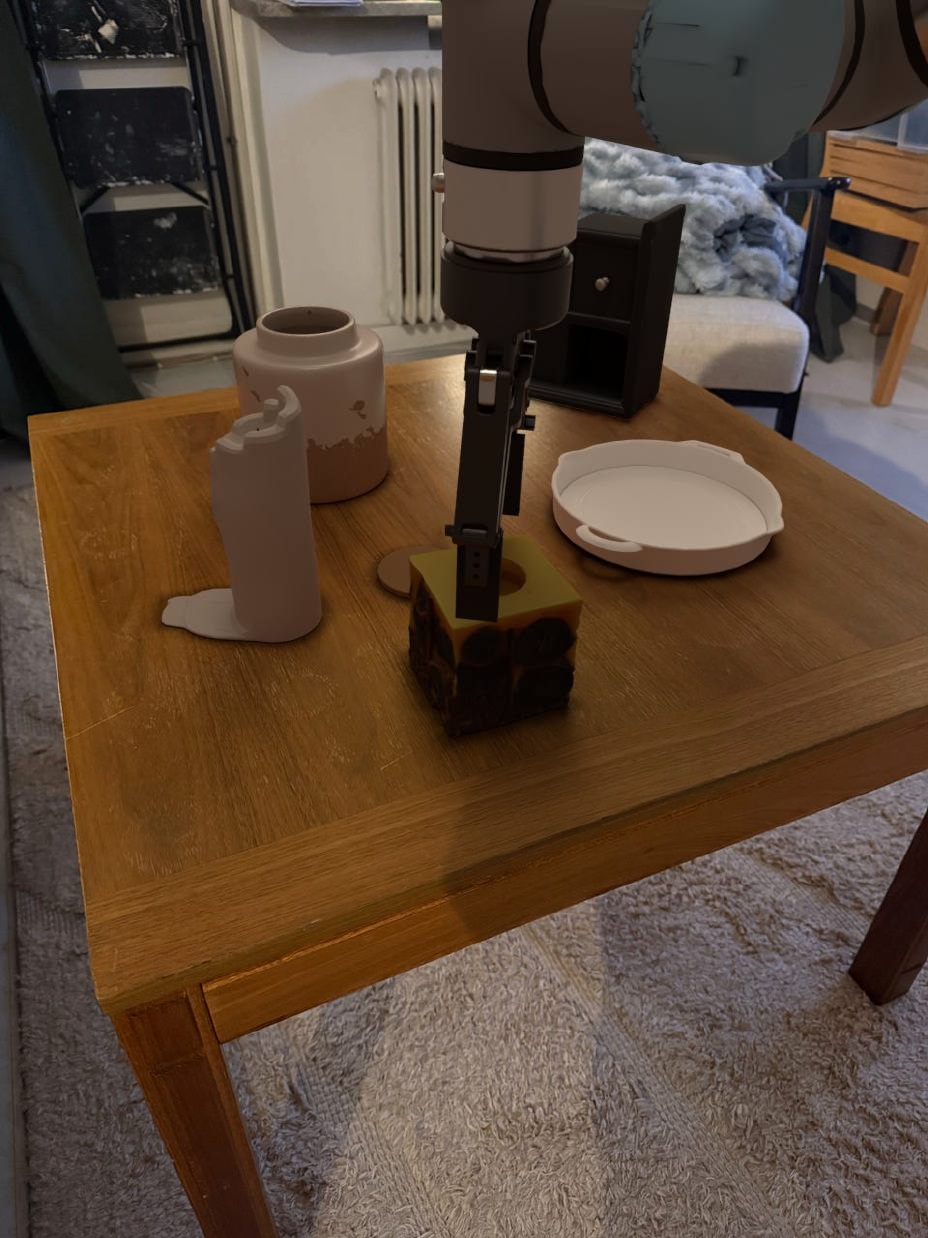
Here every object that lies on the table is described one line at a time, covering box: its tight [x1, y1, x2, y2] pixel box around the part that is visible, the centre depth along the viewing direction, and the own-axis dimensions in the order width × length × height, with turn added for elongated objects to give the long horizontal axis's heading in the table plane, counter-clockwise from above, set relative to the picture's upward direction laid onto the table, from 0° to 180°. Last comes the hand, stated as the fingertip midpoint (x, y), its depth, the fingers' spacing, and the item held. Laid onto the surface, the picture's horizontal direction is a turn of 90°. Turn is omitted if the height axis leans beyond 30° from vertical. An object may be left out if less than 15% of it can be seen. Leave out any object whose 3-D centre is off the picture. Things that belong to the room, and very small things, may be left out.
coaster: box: [377, 545, 445, 599], centre depth 80 cm, size 8×8×1 cm
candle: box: [407, 533, 584, 738], centre depth 65 cm, size 10×10×10 cm
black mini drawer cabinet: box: [528, 203, 687, 421], centre depth 109 cm, size 23×11×24 cm, turn 60°
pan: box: [550, 439, 785, 577], centre depth 87 cm, size 24×27×4 cm
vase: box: [231, 304, 389, 504], centre depth 91 cm, size 15×15×17 cm
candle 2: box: [161, 385, 323, 643], centre depth 68 cm, size 7×14×20 cm, turn 86°
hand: (490, 560), depth 61 cm, fingers open, 13 cm apart
